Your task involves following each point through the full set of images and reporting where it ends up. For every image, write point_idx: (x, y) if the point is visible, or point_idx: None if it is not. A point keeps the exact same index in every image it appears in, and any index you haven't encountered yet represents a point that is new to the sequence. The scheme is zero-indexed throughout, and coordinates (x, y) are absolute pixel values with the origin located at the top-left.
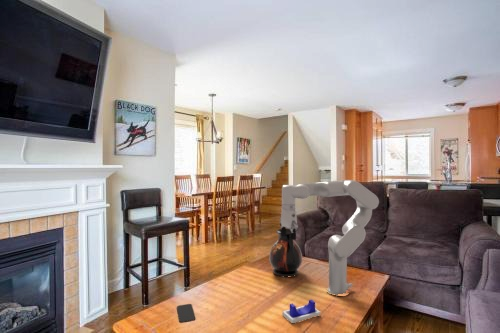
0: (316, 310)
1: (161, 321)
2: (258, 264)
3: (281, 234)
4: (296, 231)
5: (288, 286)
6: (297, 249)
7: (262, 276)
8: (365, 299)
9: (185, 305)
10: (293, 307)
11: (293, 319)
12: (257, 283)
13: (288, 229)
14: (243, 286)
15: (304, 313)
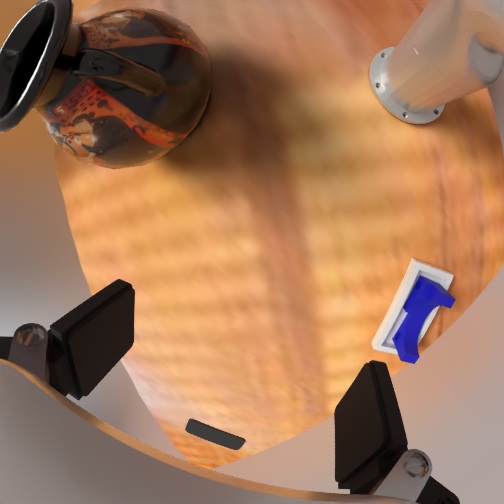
0: (443, 278)
1: (217, 454)
2: None
3: (120, 352)
4: (429, 468)
5: (259, 180)
6: (160, 37)
7: (137, 196)
8: None
9: (191, 426)
10: (414, 361)
11: None
12: (171, 252)
13: (18, 25)
14: (166, 300)
15: (424, 315)
